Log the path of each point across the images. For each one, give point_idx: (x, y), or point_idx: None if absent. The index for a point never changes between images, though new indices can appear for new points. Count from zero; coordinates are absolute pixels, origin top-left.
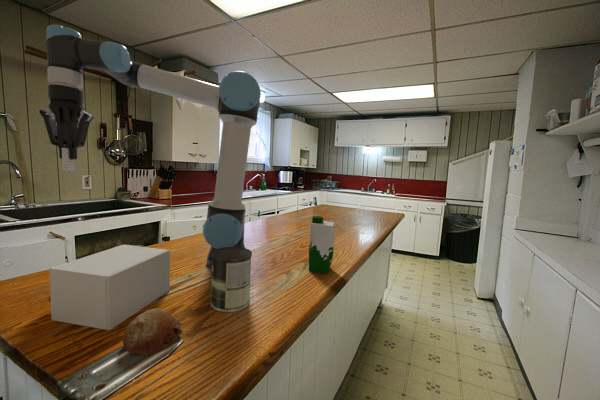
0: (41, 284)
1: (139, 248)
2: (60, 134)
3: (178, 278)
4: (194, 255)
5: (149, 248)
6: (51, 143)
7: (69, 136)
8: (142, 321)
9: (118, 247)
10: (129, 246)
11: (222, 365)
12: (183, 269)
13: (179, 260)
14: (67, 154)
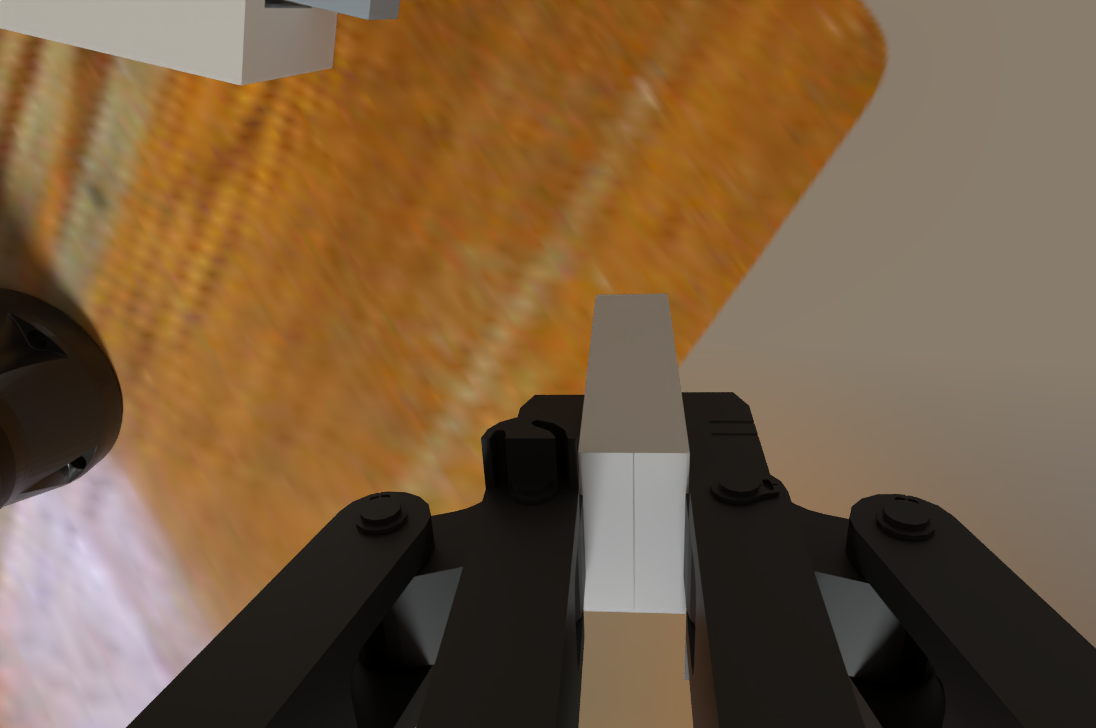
0: (703, 25)
1: (95, 10)
2: (755, 680)
3: (130, 158)
4: (229, 470)
5: (44, 22)
6: (932, 508)
7: (504, 643)
8: None
9: (223, 13)
10: (178, 45)
11: None
12: (173, 275)
13: (261, 394)
14: (585, 393)
